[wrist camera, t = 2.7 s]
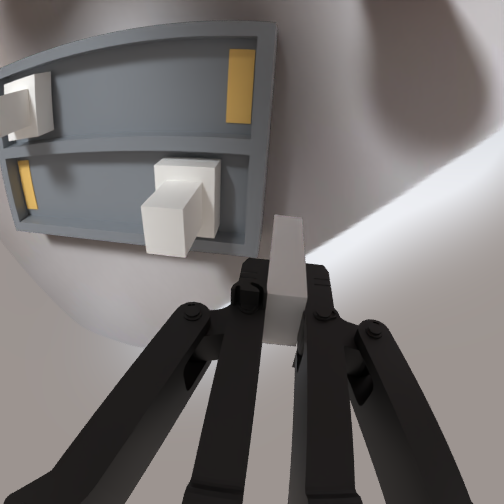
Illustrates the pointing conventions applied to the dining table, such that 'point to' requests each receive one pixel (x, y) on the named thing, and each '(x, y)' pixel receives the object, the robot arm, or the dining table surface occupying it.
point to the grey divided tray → (146, 129)
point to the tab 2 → (182, 205)
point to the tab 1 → (27, 107)
